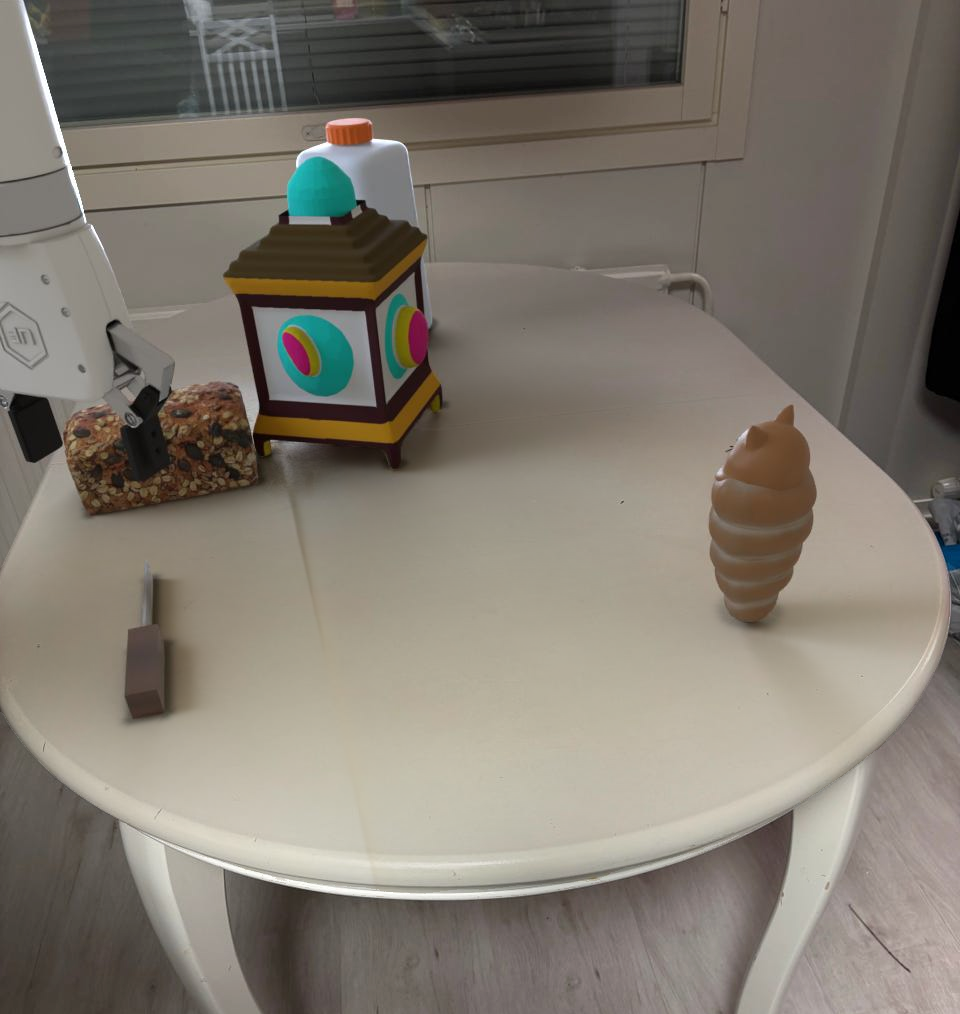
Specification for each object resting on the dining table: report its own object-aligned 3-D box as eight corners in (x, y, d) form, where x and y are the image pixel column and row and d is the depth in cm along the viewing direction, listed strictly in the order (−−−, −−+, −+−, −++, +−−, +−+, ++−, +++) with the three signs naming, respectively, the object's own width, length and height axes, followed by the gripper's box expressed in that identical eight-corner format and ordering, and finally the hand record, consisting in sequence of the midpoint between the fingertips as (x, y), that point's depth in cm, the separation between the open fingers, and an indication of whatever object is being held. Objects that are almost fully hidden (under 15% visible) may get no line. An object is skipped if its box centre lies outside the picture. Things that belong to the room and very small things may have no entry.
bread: (253, 451, 111) (236, 368, 105) (264, 492, 103) (246, 404, 97) (86, 480, 107) (58, 396, 101) (84, 525, 99) (54, 436, 93)
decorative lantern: (458, 405, 119) (440, 136, 101) (407, 480, 104) (375, 179, 86) (309, 396, 124) (266, 137, 105) (240, 466, 108) (176, 178, 90)
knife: (166, 719, 74) (156, 689, 72) (134, 726, 74) (124, 696, 72) (166, 583, 90) (158, 556, 88) (140, 588, 89) (131, 561, 87)
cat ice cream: (738, 578, 85) (763, 385, 75) (816, 613, 81) (855, 412, 70) (675, 620, 81) (693, 421, 70) (754, 660, 76) (786, 452, 65)
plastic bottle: (301, 345, 139) (265, 130, 122) (360, 313, 149) (335, 110, 132) (388, 360, 132) (363, 134, 116) (443, 325, 143) (428, 113, 126)
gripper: (-140, 215, 58) (-33, 470, 68) (84, 228, 52) (163, 506, 62) (-43, 186, 63) (42, 427, 74) (169, 195, 57) (230, 456, 68)
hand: (98, 463), depth 68 cm, fingers open, 9 cm apart
